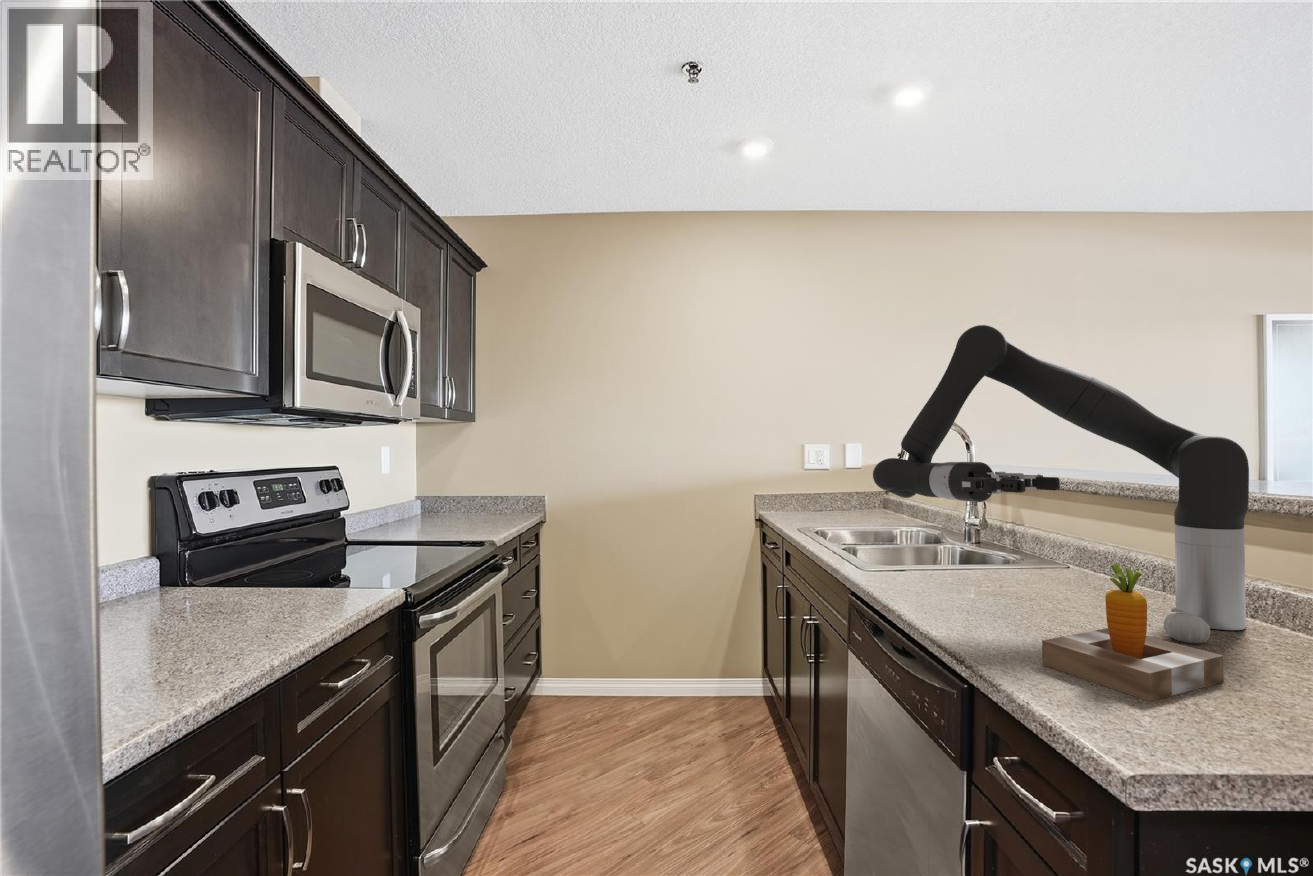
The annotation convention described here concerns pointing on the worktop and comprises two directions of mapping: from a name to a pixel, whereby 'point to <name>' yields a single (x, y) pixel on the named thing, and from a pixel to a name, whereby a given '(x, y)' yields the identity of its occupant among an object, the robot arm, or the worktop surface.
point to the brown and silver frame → (1134, 664)
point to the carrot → (1126, 614)
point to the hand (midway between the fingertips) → (1041, 485)
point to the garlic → (1186, 627)
